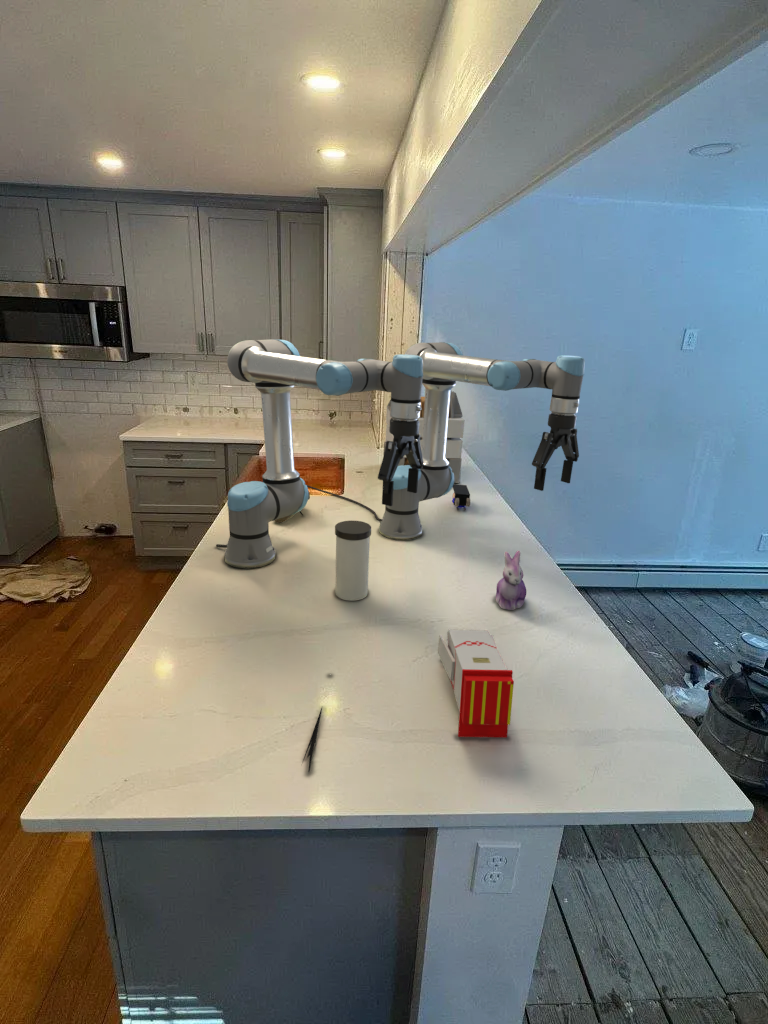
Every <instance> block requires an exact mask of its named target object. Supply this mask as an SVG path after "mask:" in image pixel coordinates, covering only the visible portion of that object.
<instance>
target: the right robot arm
mask: <svg viewBox="0 0 768 1024" xmlns="http://www.w3.org/2000/svg"><path fill="white" fill-rule="evenodd" d="M404 355H417V356H420V357H421V358H422V359H423V379H422V386H423V387H424V389H425V392H424V397H425V404H424V419H423V434H422V449H421V451H422V457H423V468H422V469H418V470H419V473H418V487H417V493H413V492H408V491H407V486H408V471H409V468H412V467H410V465H401V466H398V467H397V469H396V471H395V474H394V476H393V479H392V481H394V486H393V505H392V506H387V505H384V506H385V507H384V508H385V509H384V513H383V515H382V518H380V517H378V515H377V513H376V511H374V510H373V509H372V508H370V507H368V506H367V505H365V504H364V503H361V502H358V501H357V500H354V499H352V498H349V497H346V496H342V495H339V494H337V493H333V492H331V491H327V490H323V489H320V488H317V487H314V486H311V485H308V484H306V483H305V485H307V488H308V489H312V490H315V491H318V492H321V493H324V494H328V495H331V496H334V497H337V498H341V499H344V500H346V501H349V502H352V503H354V504H356V505H359V506H360V507H363V508H365V509H366V510H368V511H370V513H372V514H373V515H374V517H375V519H376V520H377V521H379V526H378V533H379V534H380V535H381V536H382V537H385V538H387V539H389V540H395V541H410V540H415V539H418V538H420V537H421V536H422V535H423V525H422V524H421V518H420V515H419V507H420V506H419V505H420V502H423V501H427V500H431V499H437V498H440V497H443V496H446V495H448V493H450V492H451V490H452V489H453V484H455V483H454V473H452V469H451V467H450V466H449V462H448V461H447V459H446V458H445V453H446V441H447V428H448V416H449V404H450V392H451V391H452V389H453V388H454V387H455V386H456V384H457V382H461V383H465V384H473V385H479V386H487V387H491V388H492V389H494V390H496V391H503V392H504V391H511V390H520V389H532V388H533V389H534V388H539V389H546V390H551V398H550V404H549V413H548V418H547V419H548V420H547V426H548V427H549V428H550V431H549V432H548V431H543V432H542V435H541V440H540V442H539V445H538V447H537V449H536V452H535V454H534V457H533V460H532V461H531V466H533V467H535V475H534V477H535V478H534V485H533V489H534V490H537V491H539V492H543V491H544V489H545V484H546V483H545V482H546V476H547V468H546V466H547V465H548V463H549V461H550V459H551V457H552V456H553V454H554V453H555V451H556V450H557V449H558V448H560V447H561V449H562V452H563V455H564V458H565V459H563V463H562V468H561V469H562V470H561V475H560V482H562V483H566V484H571V478H572V472H573V466H574V463H576V462H578V461H579V457H580V453H579V444H578V428H576V423H577V419H578V416H577V414H578V412H579V411H578V410H579V406H580V397H581V391H582V385H583V380H584V376H585V365H586V360H585V358H584V357H582V356H578V355H566V354H565V355H564V354H563V355H558V356H557V357H556V360H555V361H549V360H541V359H536V358H524V359H521V360H506V359H505V360H504V359H503V360H502V359H496V358H487V357H479V356H471V355H464V354H463V352H462V350H461V349H460V347H459V346H457V345H456V344H455V343H451V342H445V341H443V342H442V341H441V342H440V341H439V342H438V341H437V342H417V343H414V344H412V345H411V346H409V347H408V348H407V350H406V351H405V353H404ZM418 460H419V459H418Z"/></svg>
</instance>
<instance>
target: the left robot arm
mask: <svg viewBox="0 0 768 1024" xmlns="http://www.w3.org/2000/svg"><path fill="white" fill-rule="evenodd" d="M404 354H405V353H404ZM404 354H394V355H393V357H392V361H388V360H387V361H386V360H379V359H374V358H359V359H356V360H354V361H337V360H331V359H330V360H329V359H324V358H323V359H322V358H316V357H309V356H308V357H307V356H301V354H300V352H299V351H298V349H297V347H296V346H295V345H294V344H293V343H292V342H291V341H288V340H285V339H277V338H274V339H245V340H242V341H238V343H235V344H234V345H233V346H232V347H231V348H230V350H229V352H228V354H227V358H226V363H227V368H228V370H229V372H230V374H231V375H232V376H233V377H234V378H236V379H237V380H238V381H241V382H244V383H253V384H254V386H255V388H256V390H258V391H259V392H260V395H261V396H260V397H261V410H262V425H263V437H264V452H265V461H266V462H265V464H266V471H265V472H264V473H263V474H262V476H261V478H262V481H260V480H259V481H258V480H250V481H243V482H240V483H237V484H235V485H233V486H232V487H231V488H230V489H229V490H228V493H227V501H226V505H227V511H228V513H227V514H228V531H229V537H228V540H227V544H217V543H216V544H215V547H216V548H221V549H222V548H223V549H225V551H224V562H225V563H226V564H227V565H228V566H231V567H234V568H238V569H256V568H263V567H265V566H268V565H269V564H272V563H273V562H274V561H275V559H276V550H275V547H274V546H273V542H272V538H271V537H270V536H271V535H270V534H269V533H270V530H269V529H270V528H269V527H270V526H269V524H270V522H275V521H274V520H277V519H280V518H283V517H286V516H290V515H293V514H295V513H296V514H297V513H300V512H299V511H301V512H302V510H303V509H305V507H306V506H307V504H308V502H309V500H308V491H309V487H307V485H308V484H306V482H305V480H304V479H303V478H302V477H301V473H299V472H298V471H297V470H296V468H295V454H294V453H295V452H294V438H293V437H294V435H293V423H292V422H293V421H292V420H293V419H292V405H291V391H292V390H293V389H294V388H295V387H300V388H303V389H304V388H305V389H310V390H317V391H320V392H321V393H323V394H324V395H326V396H337V397H338V396H342V395H347V394H356V393H363V392H370V391H378V392H386V393H390V400H391V407H390V416H391V417H392V418H391V419H390V427H389V432H390V433H391V434H393V436H394V438H393V441H387V442H386V441H385V442H386V449H385V453H384V452H383V457H382V461H381V464H380V468H379V471H378V475H377V480H379V481H382V492H381V493H382V495H381V505H383V506H385V505H387V506H392V505H393V486H394V481H392V479H393V476H394V474H395V471H396V469H397V467H398V464H399V462H400V460H401V459H402V458H403V456H405V455H406V457H407V460H408V462H409V464H410V467H412V468H409V471H408V486H407V491H408V492H413V493H417V487H418V473H419V470H418V469H422V468H423V457H422V451H421V446H420V434H418V433H419V420H418V418H419V417H420V411H421V407H420V404H421V397H422V388H423V387H422V386H423V384H422V379H423V359H422V358H421V357H420V356H417V355H404ZM418 459H419V460H418ZM305 484H306V485H305ZM296 514H295V515H296Z"/></svg>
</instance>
